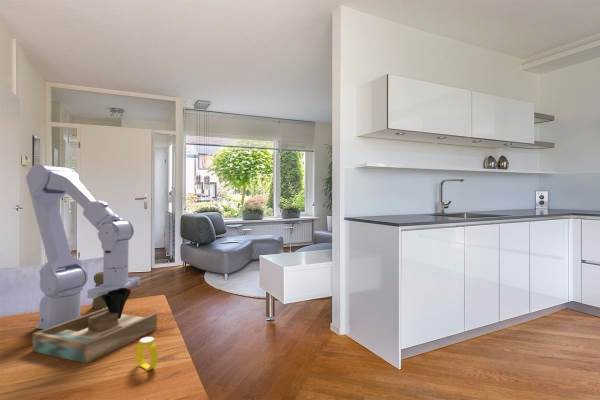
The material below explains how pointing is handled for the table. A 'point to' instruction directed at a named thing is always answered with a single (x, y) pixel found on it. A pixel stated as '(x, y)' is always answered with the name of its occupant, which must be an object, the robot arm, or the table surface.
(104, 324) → the walnut block
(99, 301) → the cork
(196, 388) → the table surface
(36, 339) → the board
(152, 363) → the watch
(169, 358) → the table surface
